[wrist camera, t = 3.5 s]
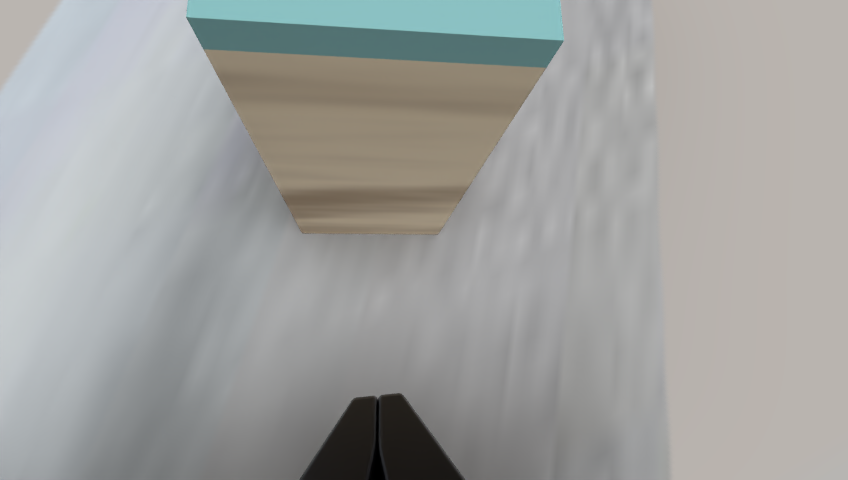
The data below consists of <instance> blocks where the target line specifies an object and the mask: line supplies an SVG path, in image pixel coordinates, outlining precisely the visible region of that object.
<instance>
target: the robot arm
mask: <svg viewBox="0 0 848 480" xmlns="http://www.w3.org/2000/svg"><path fill="white" fill-rule="evenodd" d="M300 480H465V479H464V477H463V476H462V475H461V473H460V472H459V471H458V469H457V468H456V467H455V465H454V464H453V462H452V461H451V460H450V458H449V457H448V456H447V454H446V453H445V451H444V450H443V449H442V447H441V446H440V445H439V443H438V442H437V441H436V439H435V438H434V436H433V435H432V434H431V432H430V431H429V430H428V428H427V427H426V426H425V424H424V423H423V421H422V420H421V419H420V417H419V416H418V415H417V413H416V412H415V410H414V409H413V408H412V406H411V405H410V404H409V402H408V401H407V400H406V398H405V397H404V396H403V395H402V394H400V393H397V394H387V395H381V396H380V397H379V398H378V399H377V397H375V396H368V397H358V398H354V399H353V400H352V401H351V403H350V404H349V406H348V407H347V409H346V410H345V412H344V413H343V415H342V416H341V418H340V419H339V421H338V422H337V424H336V425H335V427H334V428H333V430H332V431H331V433H330V434H329V436H328V437H327V439H326V440H325V442H324V443H323V445H322V446H321V448H320V450H319V451H318V453H317V454H316V456H315V457H314V459H313V460H312V462H311V463H310V465H309V466H308V468H307V469H306V471H305V472H304V474H303V475H302V477H301V478H300Z"/></svg>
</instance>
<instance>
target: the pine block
mask: <svg viewBox="0 0 848 480" xmlns="http://www.w3.org/2000/svg"><path fill="white" fill-rule="evenodd" d="M186 18H187V19H188V21H189V23H190V25H191V27H192V29H193V31H194V32H195V34H196V36H197V38H198V40H199V42H200V44H201V45H202V47H203V49H204V51H205V53H206V55H207V57H208V59H209V60H210V62H211V64H212V66H213V68H214V70H215V72H216V73H217V75H218V77H219V79H220V81H221V83H222V85H223V86H224V88H225V90H226V92H227V94H228V96H229V98H230V100H231V101H232V103H233V105H234V107H235V109H236V111H237V113H238V114H239V116H240V118H241V120H242V122H243V124H244V126H245V127H246V129H247V131H248V133H249V135H250V137H251V139H252V141H253V142H254V144H255V146H256V148H257V150H258V152H259V154H260V155H261V157H262V159H263V161H264V163H265V165H266V167H267V168H268V170H269V172H270V174H271V176H272V178H273V180H274V181H275V183H276V185H277V187H278V189H279V191H280V193H281V195H282V196H283V198H284V200H285V202H286V204H287V206H288V208H289V209H290V211H291V213H292V215H293V217H294V219H295V221H296V222H297V224H298V226H299V228H300V230H301V232H302V233H325V234H437V235H438V234H439V232H440V231H441V229H442V228H443V226H444V225H445V223H446V221H447V220H448V218H449V217H450V215H451V214H452V212H453V211H454V209H455V208H456V206H457V205H458V203H459V201H460V200H461V198H462V197H463V195H464V194H465V192H466V191H467V189H468V188H469V186H470V184H471V183H472V181H473V180H474V178H475V177H476V175H477V174H478V172H479V171H480V169H481V168H482V166H483V164H484V163H485V161H486V160H487V158H488V157H489V155H490V154H491V152H492V151H493V149H494V148H495V146H496V144H497V143H498V141H499V140H500V138H501V137H502V135H503V134H504V132H505V131H506V129H507V127H508V126H509V124H510V123H511V121H512V120H513V118H514V117H515V115H516V114H517V112H518V111H519V109H520V107H521V106H522V104H523V103H524V101H525V100H526V98H527V97H528V95H529V94H530V92H531V91H532V89H533V87H534V86H535V84H536V83H537V81H538V80H539V78H540V77H541V75H542V74H543V72H544V70H545V69H546V67H547V66H548V64H549V63H550V61H551V60H552V58H553V57H554V55H555V54H556V52H557V50H558V49H559V47H560V46H561V44H562V43H563V41H564V36H563V26H562V15H561V5H560V0H188V6H187V15H186Z"/></svg>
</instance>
